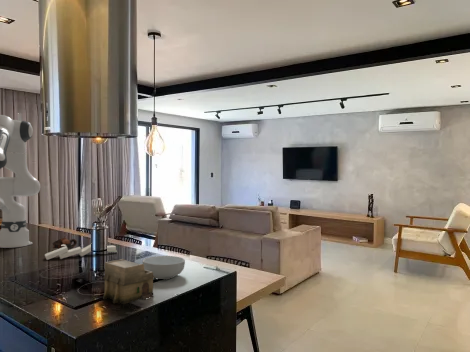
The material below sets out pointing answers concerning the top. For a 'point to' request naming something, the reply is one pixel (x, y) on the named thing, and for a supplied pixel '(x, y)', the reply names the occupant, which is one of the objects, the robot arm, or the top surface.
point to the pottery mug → (64, 241)
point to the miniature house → (127, 281)
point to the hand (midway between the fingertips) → (9, 213)
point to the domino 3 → (85, 250)
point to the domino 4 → (111, 248)
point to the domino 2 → (71, 252)
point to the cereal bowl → (164, 266)
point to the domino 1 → (56, 252)
